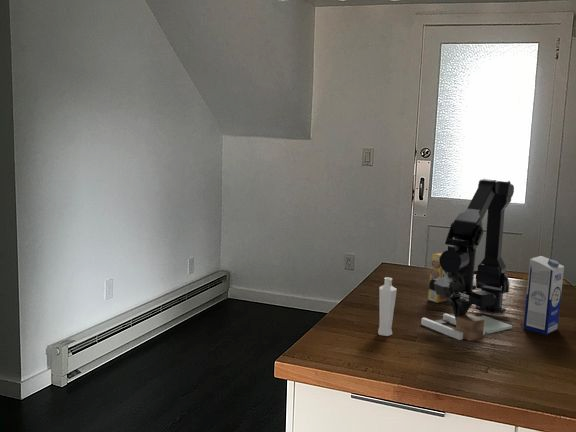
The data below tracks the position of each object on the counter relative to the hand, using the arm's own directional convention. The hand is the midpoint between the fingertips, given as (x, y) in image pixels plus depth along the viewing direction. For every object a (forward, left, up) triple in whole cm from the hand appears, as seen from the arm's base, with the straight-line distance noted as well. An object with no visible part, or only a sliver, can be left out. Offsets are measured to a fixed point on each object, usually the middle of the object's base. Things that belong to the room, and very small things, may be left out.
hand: (458, 322), depth 174 cm
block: (0, +4, -3) cm, 5 cm away
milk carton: (-23, +9, -3) cm, 25 cm away
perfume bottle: (+19, -8, -3) cm, 21 cm away
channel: (0, -2, -3) cm, 3 cm away
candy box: (-19, -24, -3) cm, 31 cm away
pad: (-11, 0, -3) cm, 11 cm away
